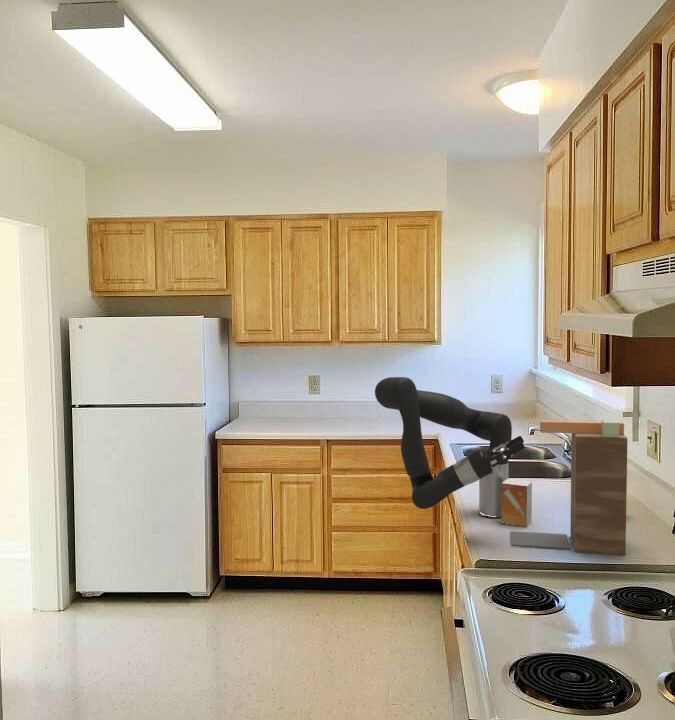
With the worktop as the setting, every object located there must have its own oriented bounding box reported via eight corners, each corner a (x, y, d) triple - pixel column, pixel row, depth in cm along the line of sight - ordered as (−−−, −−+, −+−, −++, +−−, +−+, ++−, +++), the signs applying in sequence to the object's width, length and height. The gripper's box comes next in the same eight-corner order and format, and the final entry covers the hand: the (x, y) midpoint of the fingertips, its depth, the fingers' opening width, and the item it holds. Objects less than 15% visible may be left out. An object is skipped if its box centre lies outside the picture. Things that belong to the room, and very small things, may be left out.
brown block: (540, 430, 204) (540, 420, 203) (622, 432, 199) (622, 421, 199) (540, 432, 201) (540, 421, 200) (623, 434, 196) (624, 423, 196)
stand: (570, 536, 208) (571, 428, 206) (617, 539, 206) (619, 429, 203) (575, 552, 196) (576, 436, 193) (625, 555, 193) (627, 438, 191)
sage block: (601, 434, 196) (601, 420, 196) (616, 434, 195) (617, 420, 195) (603, 437, 192) (603, 422, 192) (619, 437, 191) (619, 422, 191)
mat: (510, 533, 213) (510, 531, 213) (566, 536, 209) (566, 534, 209) (511, 546, 201) (511, 544, 201) (570, 550, 198) (570, 547, 197)
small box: (500, 524, 222) (501, 482, 221) (506, 518, 227) (506, 478, 226) (527, 527, 218) (527, 485, 217) (532, 522, 223) (532, 481, 222)
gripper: (465, 462, 200) (516, 434, 197) (467, 451, 214) (515, 425, 210) (478, 485, 200) (530, 458, 196) (480, 473, 214) (528, 447, 210)
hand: (522, 441), depth 203 cm, fingers open, 8 cm apart
